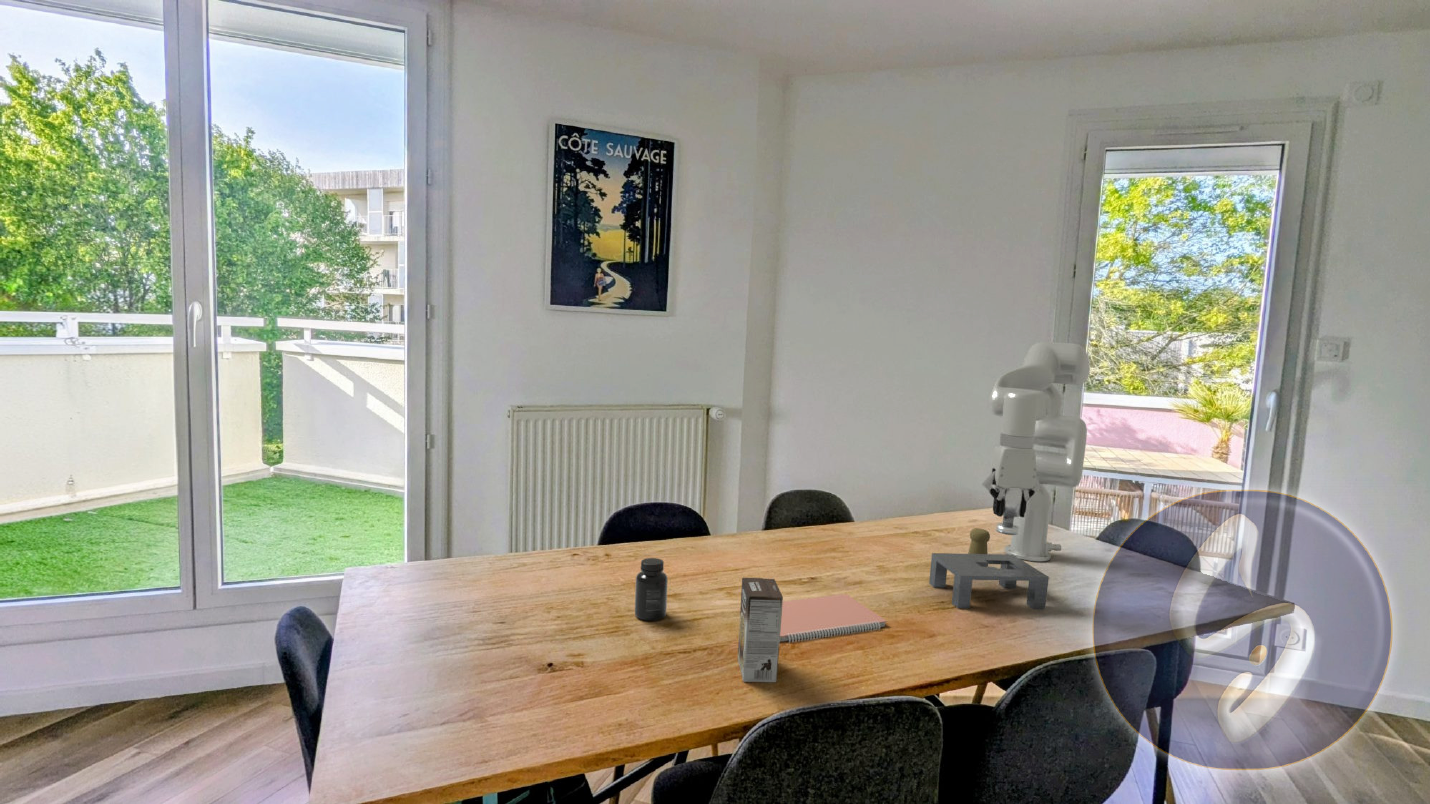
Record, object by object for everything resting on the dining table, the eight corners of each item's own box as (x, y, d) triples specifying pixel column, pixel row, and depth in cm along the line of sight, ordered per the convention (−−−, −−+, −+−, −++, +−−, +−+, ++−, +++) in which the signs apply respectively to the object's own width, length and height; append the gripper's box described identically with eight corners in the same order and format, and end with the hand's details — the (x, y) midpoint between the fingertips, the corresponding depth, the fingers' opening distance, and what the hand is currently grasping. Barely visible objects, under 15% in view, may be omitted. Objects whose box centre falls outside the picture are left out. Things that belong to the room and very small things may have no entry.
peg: (1011, 529, 175) (1016, 484, 174) (1022, 535, 170) (1027, 488, 169) (992, 528, 174) (997, 483, 173) (1002, 534, 169) (1007, 488, 168)
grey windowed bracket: (1009, 584, 183) (1012, 554, 182) (1045, 609, 167) (1048, 576, 166) (929, 583, 180) (931, 553, 179) (957, 608, 164) (960, 575, 164)
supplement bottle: (671, 612, 153) (673, 559, 152) (658, 624, 147) (661, 568, 145) (642, 606, 155) (644, 554, 154) (628, 618, 149) (631, 563, 147)
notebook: (778, 647, 141) (779, 637, 140) (742, 613, 156) (742, 605, 156) (889, 630, 151) (890, 621, 151) (845, 600, 167) (845, 592, 166)
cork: (984, 565, 197) (988, 527, 196) (990, 572, 191) (995, 533, 190) (962, 563, 198) (966, 525, 196) (968, 570, 192) (972, 531, 190)
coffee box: (736, 658, 134) (741, 576, 132) (769, 658, 134) (775, 577, 133) (742, 682, 125) (747, 595, 123) (777, 683, 125) (783, 596, 124)
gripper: (1040, 441, 175) (1032, 512, 177) (975, 438, 173) (968, 510, 175) (1058, 446, 167) (1050, 520, 169) (991, 443, 165) (983, 518, 167)
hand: (1008, 514), depth 172 cm, fingers closed on peg, 5 cm apart
